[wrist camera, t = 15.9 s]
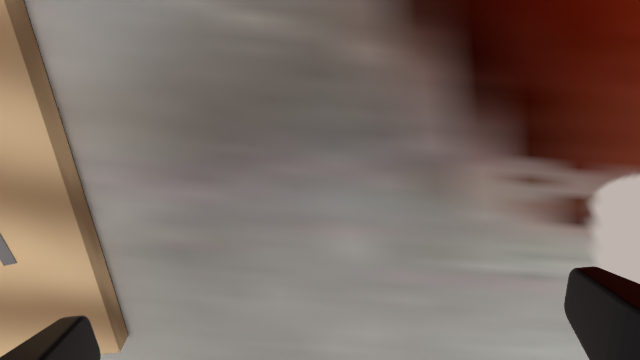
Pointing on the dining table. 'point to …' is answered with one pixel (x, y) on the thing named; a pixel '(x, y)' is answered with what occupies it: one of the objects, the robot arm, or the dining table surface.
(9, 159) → the oak board
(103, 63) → the dining table surface
